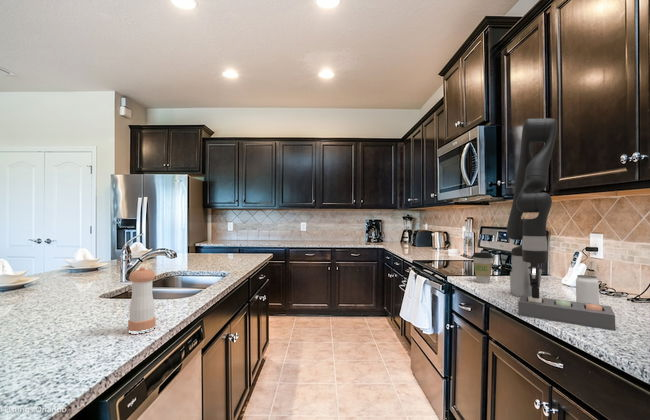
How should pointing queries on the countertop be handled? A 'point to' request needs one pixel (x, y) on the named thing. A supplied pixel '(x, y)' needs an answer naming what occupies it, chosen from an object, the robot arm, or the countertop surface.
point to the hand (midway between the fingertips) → (535, 297)
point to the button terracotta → (594, 307)
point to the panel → (567, 313)
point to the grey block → (587, 289)
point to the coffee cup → (482, 266)
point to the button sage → (563, 303)
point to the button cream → (535, 299)
